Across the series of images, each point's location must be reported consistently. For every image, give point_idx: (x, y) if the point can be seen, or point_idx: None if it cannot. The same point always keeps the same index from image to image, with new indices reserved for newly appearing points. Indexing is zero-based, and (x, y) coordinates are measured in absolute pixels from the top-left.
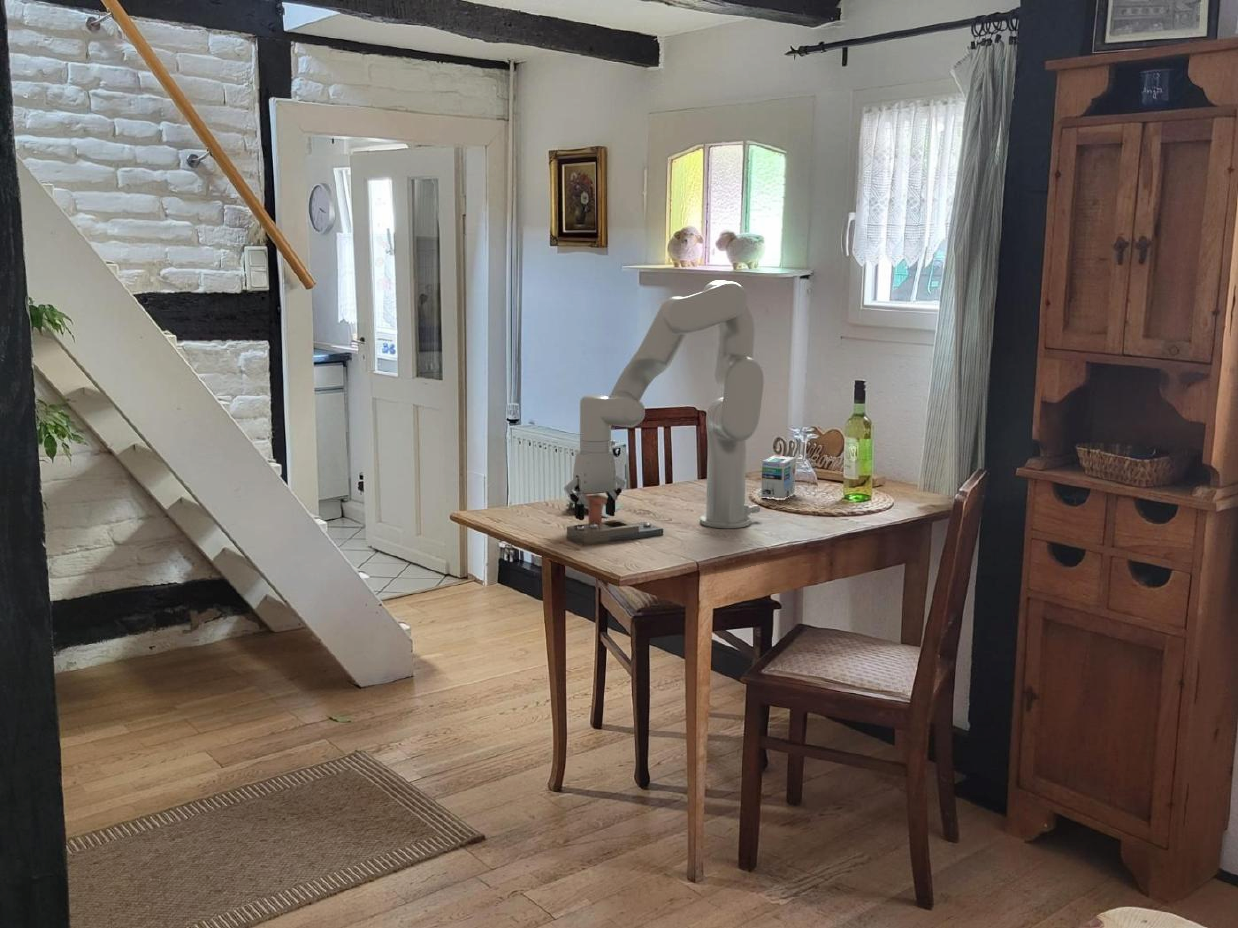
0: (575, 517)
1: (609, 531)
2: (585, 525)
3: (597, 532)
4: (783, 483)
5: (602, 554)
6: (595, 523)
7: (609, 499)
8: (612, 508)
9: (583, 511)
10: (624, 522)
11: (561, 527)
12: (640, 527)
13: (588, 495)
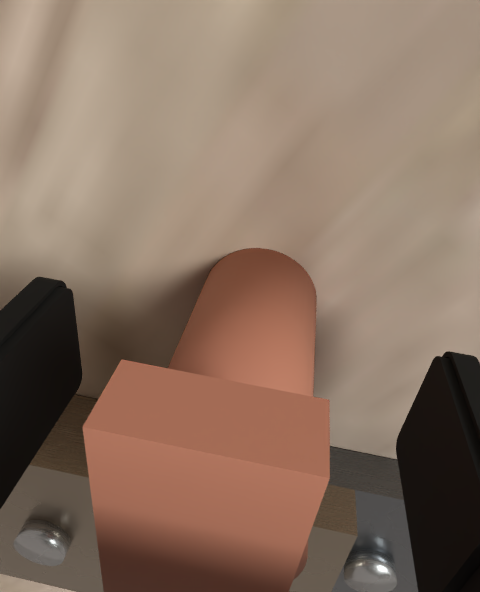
0: (40, 278)
1: None
2: (16, 485)
3: (30, 575)
4: None
5: (20, 578)
6: None
7: (467, 589)
8: (413, 520)
9: (30, 450)
10: (299, 582)
11: (12, 64)
12: (403, 575)
13: (130, 523)
